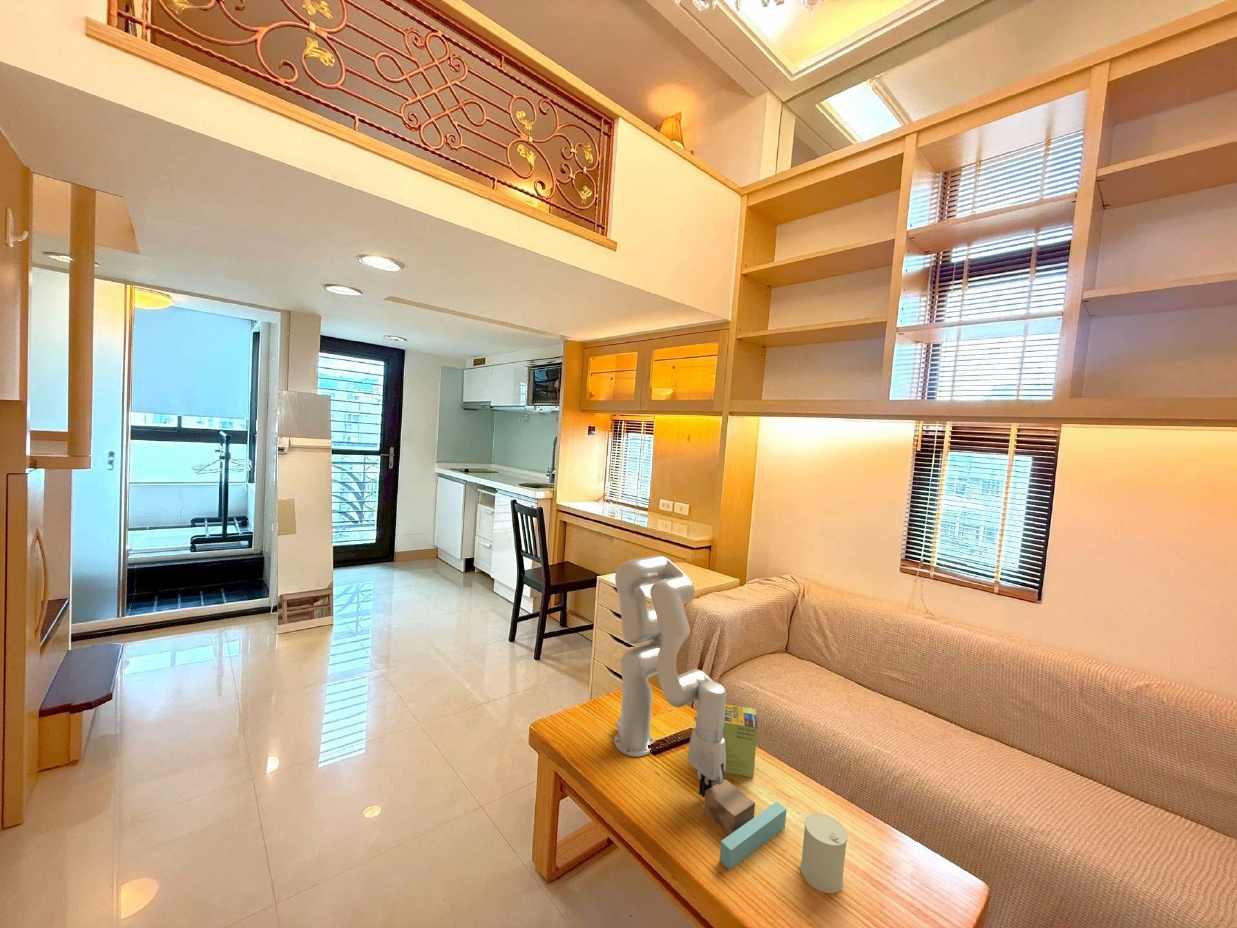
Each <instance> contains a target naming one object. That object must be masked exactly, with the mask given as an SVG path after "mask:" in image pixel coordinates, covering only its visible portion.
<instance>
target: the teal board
mask: <svg viewBox="0 0 1237 928" xmlns="http://www.w3.org/2000/svg"><path fill="white" fill-rule="evenodd" d="M786 818H787V808H786V807H785V806H783V805H782V804H781V803H779V802H778V801H775V802H774V803H772V804H771V805H770V806H768V807H767V808H765V809H764V810H763V811H761V812H760V813H758V814H757V815H754V818H753V819H751V820H750V821H748V822H747V823H746V824H744V825H743V826H742V827H740V828H739V829H737V830H736V831H735V832H733V833H732V834H730V835H729V834H728V836H726V837H725V838H723V839H722V840H721V841H720V849H719V862H720V863H721V864H722V865H723V867H725V868H727V870H728V871H731V870H732V869H733V868H735V867H736V866H737V865H739V864H740V863H741V862H743V860H744V859H746V858H747V857H748V856H750V855H751V854H752V853H754V852H755V851H756V850H758V849H759V848H760V847H761V846H762V845H764V844H765V843H767V842H768V841H769V840H770V839H772V838H773V837H774V836H775V835H776V834H778V833H779V832H780V831H781V830H783V829H785V828H786V822H787V821H786Z"/></svg>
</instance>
